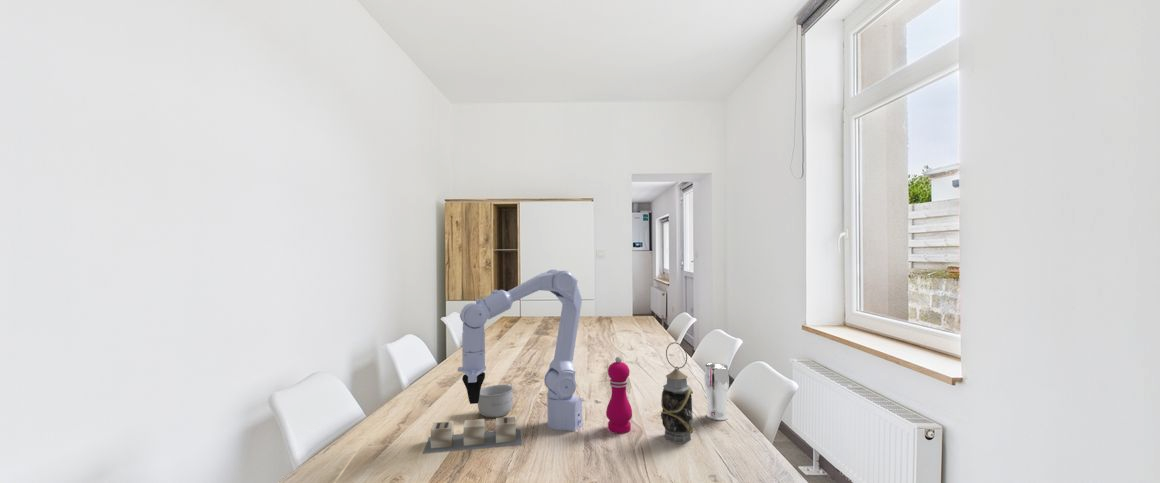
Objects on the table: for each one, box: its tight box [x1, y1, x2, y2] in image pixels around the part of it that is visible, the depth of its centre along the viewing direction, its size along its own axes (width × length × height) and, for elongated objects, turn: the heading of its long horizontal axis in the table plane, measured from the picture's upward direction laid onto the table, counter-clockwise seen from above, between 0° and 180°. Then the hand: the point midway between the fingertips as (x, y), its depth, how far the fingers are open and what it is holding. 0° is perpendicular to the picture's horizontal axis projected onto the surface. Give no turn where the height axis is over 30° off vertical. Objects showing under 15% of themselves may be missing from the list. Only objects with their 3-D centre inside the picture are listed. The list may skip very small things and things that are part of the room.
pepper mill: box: [605, 356, 633, 434], centre depth 125 cm, size 7×7×20 cm
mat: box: [422, 429, 523, 454], centre depth 117 cm, size 24×10×1 cm, turn 100°
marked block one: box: [495, 416, 517, 443], centre depth 118 cm, size 5×5×5 cm
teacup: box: [477, 383, 514, 419], centre depth 138 cm, size 14×11×8 cm
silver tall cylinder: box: [703, 362, 730, 421], centre depth 134 cm, size 7×7×15 cm
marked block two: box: [430, 421, 455, 448], centre depth 115 cm, size 5×5×5 cm
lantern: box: [660, 342, 694, 444], centre depth 119 cm, size 9×8×25 cm
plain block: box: [463, 418, 486, 446], centre depth 117 cm, size 5×5×4 cm
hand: (474, 402), depth 117 cm, fingers closed
